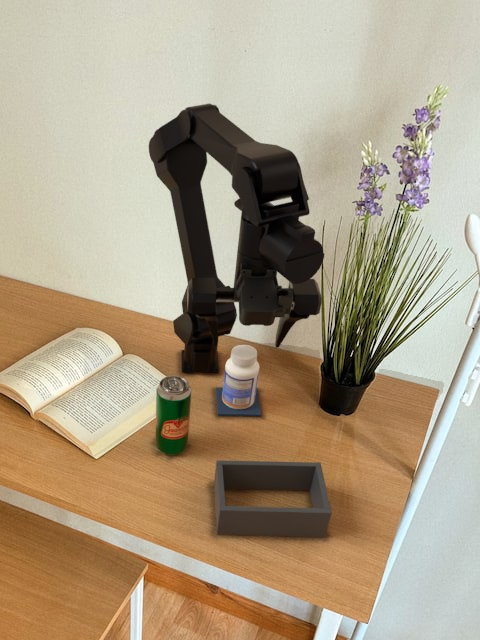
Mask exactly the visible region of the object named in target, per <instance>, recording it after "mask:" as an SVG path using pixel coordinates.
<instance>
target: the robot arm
mask: <svg viewBox="0 0 480 640" xmlns="http://www.w3.org/2000/svg"><path fill="white" fill-rule="evenodd" d="M148 154H149V157H150V160H151V162H152V163H153V166H154V170H155V171H154V172H155V175H156V176H157V178H158V179H159V181H160V182H162V184H163V185H164V186H165V187H166V188H167V190H168V191H169V193H170V197H171V198H170V199H171V202H172V207H173V212H174V213H173V214H174V218H175V223H176V229H177V233H178V238H179V243H180V249H181V254H182V260H183V265H184V269H185V275H186V280H187V281H186V282H187V286H186V288H185V291H184V294H183V297H182V300H181V310H182V313H181V314H179V316H178V317H176V318H175V319H173V321H172V323H173V325H172V326H173V332H174V334H175V335H176V336H177V337H178V338H179V339H180V341H181V342H182V343H183V345H184V349H182V350H181V352H180V353H181V354H180V355H181V356H180V357H181V359H180V360H181V373H182V374H210V375H211V374H212V375H213V374H214V375H215V374H219V373H220V363H219V351H218V347H219V337H223V336H226V335H230V334H231V332H232V331H233V327H234V325H235V323H236V321H237V317H238V321H239V323H240V324H241V325H242V326H245V327H250V326H264V327H270V326H272V325H273V324H274V323H275V320H276V318H279V320H278V324H277V328H276V333H275V340H274V341H275V343H274V344H275V346H274V347H275V348H277V349H278V348H280V346H281V344H282V343H283V341H284V340H285V338H286V337H287V335H288V333H289V332H290V330H291V329H292V328H293V326H294V325H295V324H296V323H297V322H299V321H301V320H307V319H309V317H310V316H317V315H319V314H320V312H321V307H322V304H323V303H322V302H323V301H322V300H323V297H322V293H321V289H320V287H319V283H318V282H317V281H316V279H315V278H313V277H314V276H315V275H316V274H317V273H318V271H319V270H320V268H321V267H322V265H323V262H324V259H325V253H324V247H323V245H322V244H321V242H320V241H318V240H317V239H316V238H315V236H316V229H314V228H313V227H312V226H310V225H306V224H304V222H302V221H301V220H300V217H305V216H309V215H310V207H309V202H308V201H309V200H310V197H309V194H308V191H307V189H306V185H305V181H304V178H303V173H302V168H301V166H300V162H299V160H298V157H297V156H296V154H295V153H294V152H293V151H291V150H290V149H287V148H286V147H282V146H280V145H277V144H271V143H265V142H260V141H257V140H255V139H254V138H253V137H252V136H250V135H249V134H248V133H246V132H245V131H244V130H242V128H240V127H239V126H238V125H237V124H235V123H234V122H232V121H231V120H230V119H229V118H227V117H226V116H225V115H224V114H222V113H221V112H220V109H219V107H218V106H217V104H212V103H205V104H203V103H202V104H198V105H193V106H187V107H185V109H183V110H181V111H180V112H179V113H178V115H177V116H176V117H174V118H173V119H171V120H170V121H168V122H166V123H165V124H163V125H161V126H160V127H159V128H158V129H155V131H154V133H153V135H152V137H151V138H150V140H149V141H148ZM208 156H210V157H212V159H214V160H215V161H216V162H217V163H218V164H219V165H220V166H221V167H223V168H224V169H225V170H226V171H227V172H228V173H229V174H230V176H231V188H232V190H233V191H234V192H235V193H236V195H237V196H238V198H237V199H236V200H234V202H233V204H234V205H233V206H234V207H235V208H237V209H238V210H239V211H240V212H241V215H240V223H239V233H238V242H237V250H236V261H235V270H234V273H235V274H234V278H233V279H234V280H233V287H231V286H230V285H225V284H224V283H223V282H222V280H221V279H220V278H219V277H218V272H217V267H216V261H215V257H214V249H213V244H212V239H211V233H210V229H209V221H208V218H207V210H206V205H205V200H204V194H203V189H202V181H203V180H202V179H203V177H204V174H205V171H206V168H207V165H208ZM285 199H290V200H291V201H288V202H285V203H279V204H273V203H272V202H277V201H281V200H285ZM278 274H279V275H280V276H282V277H283V278H284V279H285V280H287V281H288V286H287V287H283V286H282V285H279V282H278V277H277V276H278ZM235 303H238V312H237V307H236V304H235ZM238 315H239V316H238Z"/></svg>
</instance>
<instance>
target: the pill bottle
mask: <svg viewBox="0 0 480 640" xmlns="http://www.w3.org/2000/svg"><path fill="white" fill-rule="evenodd" d="M259 375H260V363H259V361H258V351H257V349H256V348H255V347H253V346H252V345H249V344H237V345H235V346H233V348H232V349H231V352H230V357H229V358H228V359H227V360H226V361H225V366H224V374H223V384H222V388H223V392H222V400H223V402H224V404H226V405H227V406H228V407H230V408H233V409H246V408H248V407H250V406H251V405H252V404H253V403H254V400H255V395H256V388H258V380H259Z"/></svg>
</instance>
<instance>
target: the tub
mask: <svg viewBox="0 0 480 640" xmlns="http://www.w3.org/2000/svg"><path fill="white" fill-rule="evenodd" d="M225 490H255V491H256V490H259V491H298V492H299V491H300V492H301V491H302V492H309V495H310V500H311V504H312V507H284V506H283V507H282V506H281V507H280V506H279V507H278V506H277V507H276V506H238V505H237V506H235V505H226V495H225ZM213 491H214V493H213V494H214V510H215V526H216V535H218V536H219V535H220V536H252V537H253V536H254V537H255V536H256V537H257V536H259V537H294V538H325V537H326V534H327V530H328V526H329V523H330V521H331V516H332V509H331V504H330V499H329V494H328V490H327V487H326V479H325V476H324V471H323V467H322V462H312V461H311V462H309V461H270V460H269V461H268V460H267V461H266V460H265V461H263V460H260V461H259V460H258V461H257V460H256V461H255V460H222V459H221V460H219V459H217V460H216V462H215V472H214V481H213Z"/></svg>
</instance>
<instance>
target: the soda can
mask: <svg viewBox="0 0 480 640" xmlns="http://www.w3.org/2000/svg"><path fill="white" fill-rule="evenodd" d="M155 394H156V395H155V437H154V439H155V447H156V449H157V450H158V451H159V452H161V453H162V454H164V455H167V456H177V455H180V454H182V453H183V452H185V451H186V450H187V448H188V446H189V435H190V434H189V433H190V420H191V403H192V388H191V386H190V383H189V381H188V380H187V378H185V377H183V376H179V375H168V376H165V377H163V378H162V379H161V380H160V381H159V382H158V385H157V387H156V393H155Z"/></svg>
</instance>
